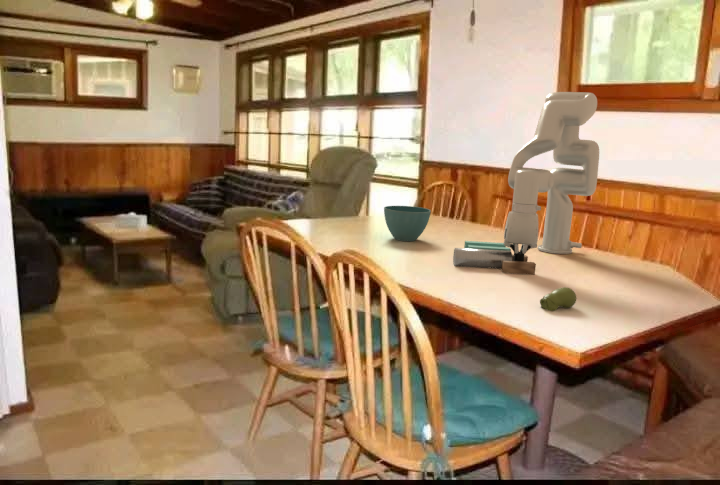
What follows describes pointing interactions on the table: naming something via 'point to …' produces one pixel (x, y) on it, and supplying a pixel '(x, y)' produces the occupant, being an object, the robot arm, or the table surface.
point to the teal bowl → (406, 221)
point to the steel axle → (480, 258)
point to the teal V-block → (485, 245)
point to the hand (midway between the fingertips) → (518, 264)
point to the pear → (558, 299)
